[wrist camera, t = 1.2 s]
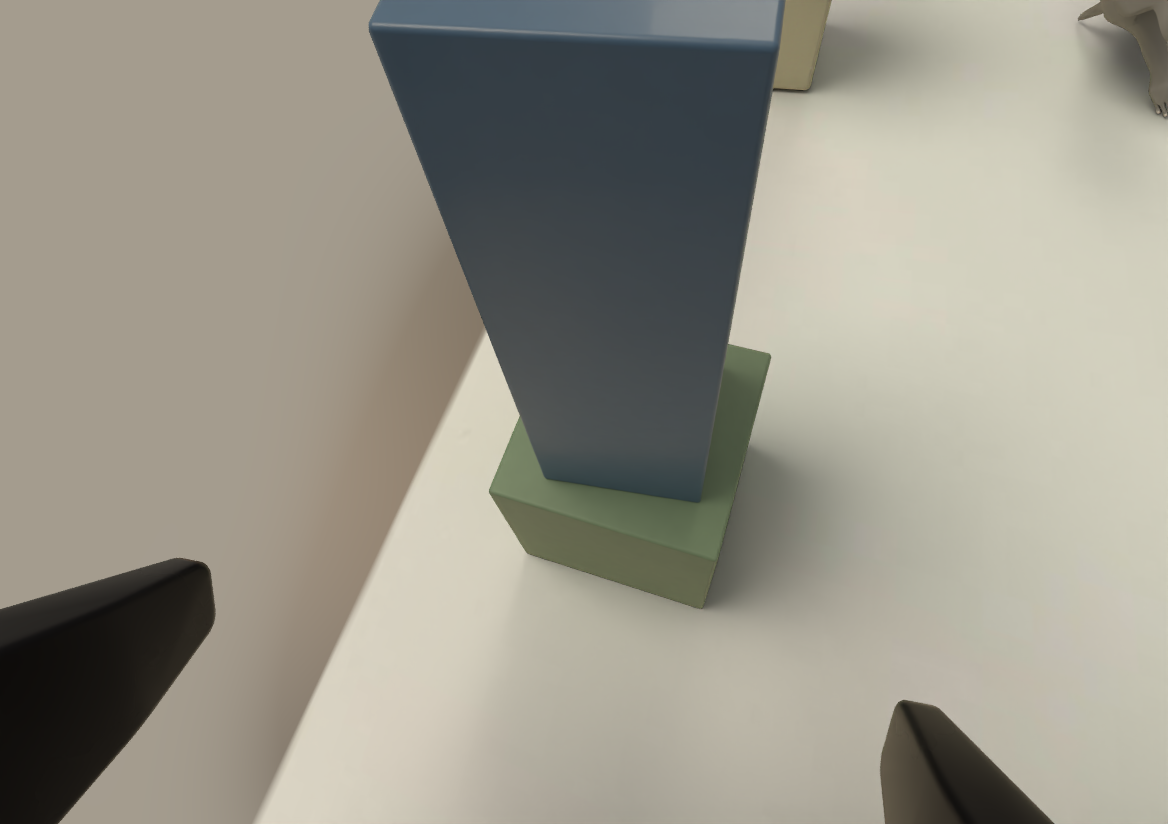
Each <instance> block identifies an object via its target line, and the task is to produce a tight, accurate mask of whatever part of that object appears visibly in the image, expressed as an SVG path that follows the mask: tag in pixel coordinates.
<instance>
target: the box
mask: <svg viewBox="0 0 1168 824" xmlns="http://www.w3.org/2000/svg"><path fill="white" fill-rule="evenodd" d="M831 1H832V0H786V2H785V10H784V19H783V27H782V35H781V43H780V51H779V57H778V62H777V68H776V74H775V79H774V85H773V88H782V89H797V90H807V89H809V88H810V85H811V82H812V78H813V74H814V70H815V66H816V61H817V57H818V53H819V49H820V45H821V41H822V37H823V33H824V29H825V25H826V21H827V17H828V13H829V9H830V5H831Z"/></svg>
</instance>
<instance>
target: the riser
mask: <svg viewBox="0 0 1168 824" xmlns="http://www.w3.org/2000/svg"><path fill="white" fill-rule="evenodd" d="M770 360H771V355H770V354H769V353H764V352H760V351H756V350H752V349H747V348H743V347H739V346H734V345H730V344H728V347H727V353H726V359H725V364H724V370H723V376H722V381H721V387H720V393H719V398H718V404H717V410H716V416H715V421H714V427H713V433H712V438H711V444H710V450H709V455H708V461H707V467H706V473H705V478H704V484H703V490H702V495H701V500H700V502H690V501H684V500H678V499H671V498H665V497H659V496H653V495H646V494H640V493H634V492H628V491H621V490H615V489H609V488H602V487H596V486H590V485H584V484H577V483H571V482H565V481H559V480H552V479H546V478H545V477H544V476H543V473H542V470H541V468H540V465H539V463H538V460H537V458H536V455H535V453H534V450H533V448H532V445H531V442H530V440H529V437H528V435H527V432H526V430H525V427H524V425H523V422H522V420H521V417H519V419H518V422H517V424H516V426H515V429H514V431H513V434H512V436H511V438H510V441H509V443H508V446H507V448H506V450H505V453H504V455H503V458H502V460H501V462H500V465H499V467H498V470H497V472H496V475H495V477H494V479H493V482H492V484H491V487H490V489H489V493H490V495H491V496H492V498H493V500H494V501H495V503H496V505H497V506H498V508H499V509H500V511H501V513H502V514H503V516H504V517H505V519H506V521H507V522H508V524H509V525H510V527H511V529H512V530H513V532H514V533H515V535H516V537H517V538H518V540H519V542H520V543H521V545H522V546H523V548H524V550H525V551H526V552H527V553H528V554H531V555H534V556H537V557H540V558H544V559H547V560H550V561H553V562H556V563H559V564H562V565H565V566H568V567H572V568H575V569H578V570H581V571H584V572H587V573H590V574H593V575H596V576H599V577H603V578H606V579H609V580H612V581H615V582H618V583H621V584H624V585H627V586H631V587H634V588H637V589H640V590H643V591H646V592H649V593H652V594H655V595H659V596H662V597H665V598H668V599H671V600H674V601H677V602H680V603H683V604H687V605H690V606H693V607H696V608H699V609H702V608H703V606H704V602H705V599H706V596H707V593H708V590H709V587H710V583H711V580H712V577H713V574H714V571H715V567H716V564H717V561H718V558H719V554H720V550H721V546H722V542H723V539H724V535H725V531H726V527H727V523H728V520H729V516H730V512H731V508H732V504H733V501H734V497H735V493H736V489H737V485H738V482H739V478H740V474H741V470H742V466H743V463H744V459H745V455H746V451H747V447H748V444H749V440H750V436H751V432H752V428H753V425H754V421H755V417H756V413H757V409H758V406H759V402H760V398H761V394H762V390H763V387H764V383H765V379H766V375H767V371H768V368H769V364H770Z"/></svg>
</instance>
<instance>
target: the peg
mask: <svg viewBox="0 0 1168 824" xmlns="http://www.w3.org/2000/svg"><path fill="white" fill-rule="evenodd" d="M785 2H786V0H380V2H379V3H378V5H377V7H376V10H375V11H374V13H373V15H372V17H371V19H370V21H369V33H370V35H371V38H372V40H373V43H374V45H375V48H376V50H377V53H378V56H379V57H380V61H381V63H382V66H383V68H384V71H385V73H386V76H387V78H388V81H389V84H390V86H391V89H392V91H393V94H394V96H395V99H396V101H397V104H398V106H399V109H400V112H401V114H402V117H403V119H404V122H405V124H406V127H407V129H408V132H409V134H410V137H411V140H412V142H413V145H414V147H415V150H416V152H417V155H418V157H419V160H420V162H421V165H422V167H423V170H424V172H425V175H426V178H427V180H428V183H429V185H430V188H431V190H432V193H433V196H434V198H435V201H436V203H437V205H438V208H439V211H440V213H441V216H442V218H443V221H444V223H445V226H446V229H447V231H448V234H449V236H450V239H451V241H452V244H453V246H454V249H455V252H456V254H457V257H458V259H459V262H460V264H461V267H462V269H463V272H464V274H465V277H466V279H467V282H468V284H469V287H470V289H471V292H472V295H473V297H474V300H475V302H476V305H477V307H478V310H479V312H480V315H481V318H482V320H483V323H484V325H485V328H486V330H487V333H488V336H489V338H490V341H491V343H492V346H493V348H494V351H495V353H496V356H497V358H498V361H499V364H500V366H501V369H502V371H503V374H504V376H505V379H506V381H507V384H508V386H509V389H510V392H511V394H512V397H513V399H514V402H515V404H516V407H517V409H518V412H519V414H520V417H521V420H522V422H523V425H524V427H525V430H526V432H527V435H528V437H529V440H530V442H531V445H532V448H533V450H534V453H535V455H536V458H537V460H538V463H539V465H540V468H541V470H542V473H543V476H544V477H545V478H546V479H552V480H559V481H565V482H571V483H577V484H584V485H590V486H596V487H602V488H609V489H615V490H621V491H628V492H634V493H640V494H646V495H653V496H659V497H665V498H671V499H678V500H684V501H690V502H700V500H701V495H702V490H703V484H704V478H705V473H706V467H707V461H708V455H709V450H710V444H711V438H712V433H713V427H714V421H715V416H716V410H717V404H718V398H719V393H720V387H721V381H722V376H723V370H724V364H725V359H726V353H727V347H728V341H729V336H730V330H731V324H732V319H733V313H734V307H735V302H736V296H737V290H738V284H739V279H740V273H741V267H742V262H743V256H744V250H745V245H746V239H747V233H748V227H749V222H750V216H751V210H752V205H753V199H754V193H755V188H756V182H757V176H758V170H759V165H760V159H761V153H762V148H763V142H764V136H765V131H766V125H767V119H768V113H769V108H770V102H771V96H772V91H773V85H774V79H775V74H776V68H777V62H778V57H779V51H780V43H781V35H782V27H783V19H784V10H785Z"/></svg>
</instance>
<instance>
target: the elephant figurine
mask: <svg viewBox="0 0 1168 824" xmlns="http://www.w3.org/2000/svg"><path fill="white" fill-rule="evenodd" d="M1102 13H1103V14H1104V17H1105V19H1106V20H1107V21H1108V22H1110V23H1112V24H1114V25H1117V26H1119V27H1122V28H1124V29H1126V30H1127V31H1129V32H1130V33H1131V34H1132V35H1133V36H1134V37H1135V38H1136V40H1137V41H1138V43H1139V46H1140V49H1141V52H1142V56H1143V58H1144V60H1145V62H1146V64H1147V66H1148V69H1149V71H1150V84H1149V90H1148V92H1149V95H1150V97H1151V99H1152V101H1153V103H1154V105H1155V108H1156V113H1157V114H1160V113H1161V112H1163V116H1164V117H1165V116H1167V115H1168V112H1167V109H1166V104H1167V107H1168V46H1167V42H1168V0H1100V2H1099V3H1098V4H1096V5H1095V6H1093V7H1091V8H1090V9H1088V10H1086V11H1085V12H1083V13H1082V14H1081V15H1080V16H1079V18H1078V21H1079V20H1084V19H1087V18H1090V17H1093V16H1096V15H1099V14H1102ZM1165 103H1166V104H1165ZM1160 107H1161V108H1160ZM1161 110H1162V111H1161Z"/></svg>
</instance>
